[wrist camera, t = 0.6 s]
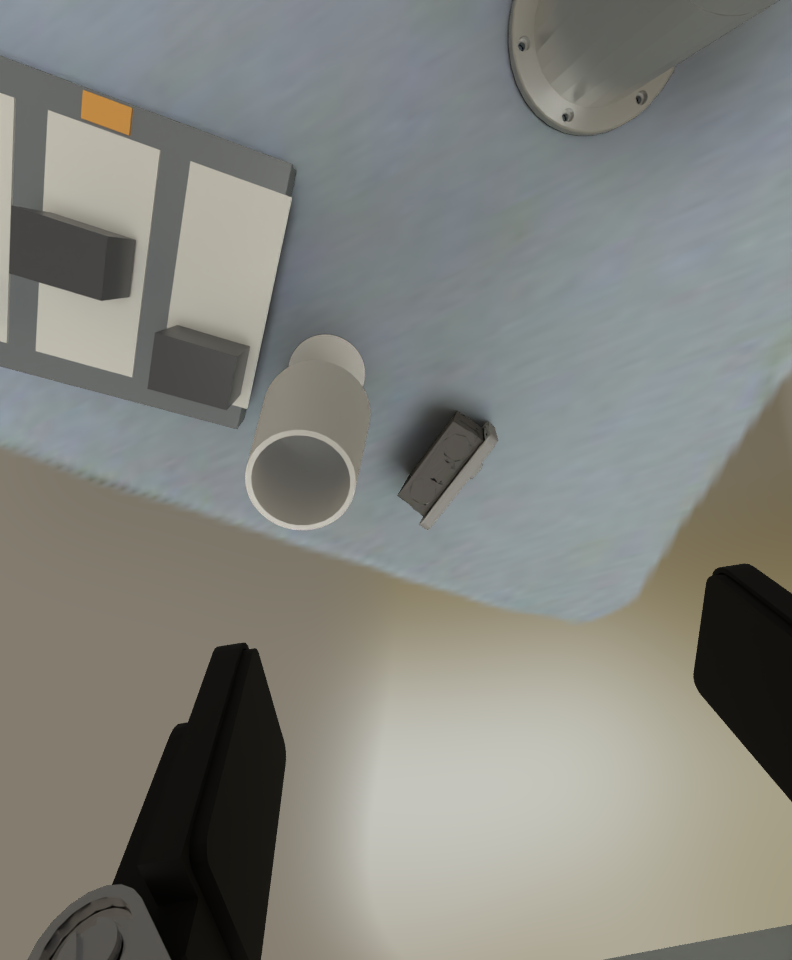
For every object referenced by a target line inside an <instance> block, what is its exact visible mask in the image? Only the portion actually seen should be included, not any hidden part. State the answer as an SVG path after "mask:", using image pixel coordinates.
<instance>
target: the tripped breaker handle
mask: <svg viewBox="0 0 792 960" xmlns="http://www.w3.org/2000/svg"><path fill="white" fill-rule="evenodd" d="M135 244H136V240H135V239H132V238H129V237H125V236H122V235H119V234H116V233H113V232H110V231H107V230H104V229H101V228H98V227H95V226H91V225H88V224H85V223H82V222H79V221H76V220H73V219H70V218H67V217H64V216H61V215H57V214H54V213H51V212H45V211H40V210H34V209H29V208H23V207H18V206H13V205H11V227H10V259H9V274H13V275H16V276H19V277H23V278H26V279H29V280H33V281H36V282H39V283H43V284H46V285H50V286H53V287H56V288H60V289H63V290H66V291H70V292H73V293H76V294H80V295H83V296H86V297H90V298H93V299H97V300H100V301H104V300H112V299H120V298H127V297H129V296H130V288H131V279H132V270H133V261H134V253H135Z"/></svg>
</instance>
